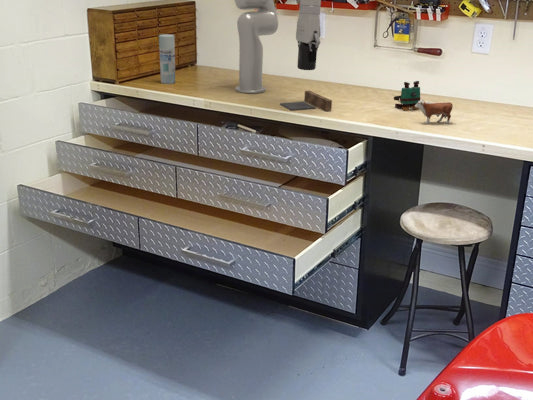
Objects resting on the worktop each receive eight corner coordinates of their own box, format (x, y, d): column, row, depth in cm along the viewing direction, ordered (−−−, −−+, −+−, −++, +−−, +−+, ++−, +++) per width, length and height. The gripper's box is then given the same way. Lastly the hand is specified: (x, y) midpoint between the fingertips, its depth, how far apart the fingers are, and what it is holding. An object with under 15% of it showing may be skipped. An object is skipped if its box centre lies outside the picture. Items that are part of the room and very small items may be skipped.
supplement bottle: (314, 71, 232) (316, 37, 228) (296, 69, 233) (297, 36, 229) (316, 67, 239) (318, 35, 234) (298, 66, 240) (300, 34, 235)
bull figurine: (411, 121, 224) (414, 98, 221) (448, 121, 225) (451, 98, 222) (415, 124, 220) (418, 101, 217) (453, 124, 221) (456, 101, 218)
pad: (279, 104, 242) (279, 103, 242) (303, 102, 246) (303, 101, 246) (291, 110, 233) (291, 109, 233) (315, 108, 237) (315, 107, 237)
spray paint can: (158, 83, 273) (156, 35, 266) (163, 80, 279) (162, 34, 272) (172, 84, 272) (171, 36, 265) (177, 81, 278) (176, 34, 271)
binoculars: (407, 79, 246) (425, 81, 237) (406, 106, 249) (423, 109, 240) (389, 80, 242) (406, 82, 233) (388, 108, 245) (405, 111, 236)
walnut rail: (304, 100, 249) (304, 90, 248) (308, 100, 250) (309, 90, 248) (326, 111, 234) (327, 100, 232) (331, 111, 235) (331, 100, 233)
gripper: (289, 7, 234) (287, 56, 240) (312, 13, 219) (309, 65, 226) (307, 7, 237) (304, 56, 244) (331, 12, 222) (327, 64, 229)
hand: (306, 59), depth 235 cm, fingers closed on supplement bottle, 6 cm apart
